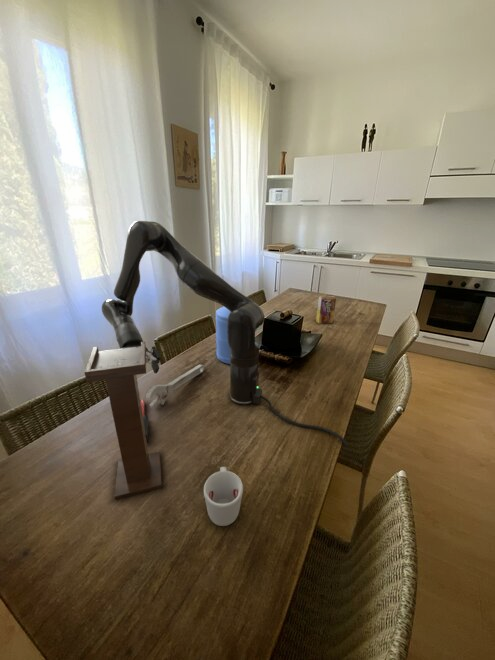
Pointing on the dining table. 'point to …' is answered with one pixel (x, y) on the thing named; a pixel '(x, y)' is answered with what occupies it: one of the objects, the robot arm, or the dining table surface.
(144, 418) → the black and white bar
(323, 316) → the candy box
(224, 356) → the water jug
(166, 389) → the wrench
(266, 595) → the dining table surface
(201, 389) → the dining table surface
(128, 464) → the stand
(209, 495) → the cup
